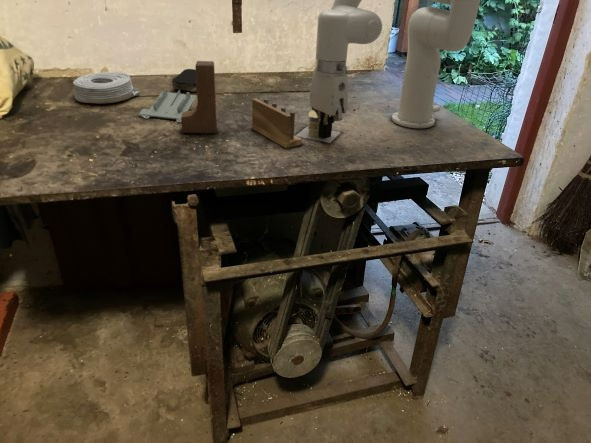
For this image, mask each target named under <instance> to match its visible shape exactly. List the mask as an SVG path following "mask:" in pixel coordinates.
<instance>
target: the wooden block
mask: <svg viewBox="0 0 591 443" xmlns="http://www.w3.org/2000/svg"><path fill="white" fill-rule="evenodd" d="M194 69H195V70H196V84H197V91H196V99H197V100H196V101H197V105H196V106H195V107H194V108H193V109H192V110H188V111H186V112H183V113H182V117H181V122H180V123H181V133H182V134H216V133H217V131H218V130H217V128H218V124H217V122H218V121H217V101H216V100H217V99H216V97H217V96H216V75H215V74H216V73H215V72H216V71H215V62H214V61H213V60H197V61H196V62H195V68H194Z"/></svg>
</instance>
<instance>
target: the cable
mask: <svg viewBox="0 0 591 443" xmlns="http://www.w3.org/2000/svg"><path fill="white" fill-rule="evenodd" d="M72 84H73V89H74V91H73V92H74V93H73V94H74V99H75V100H76V101H77V102H80V103H84V104H85V103H86V104H112V103H119V102H122V101H126V100H129V99H131V98H133V97H138V96H139V94H140V88H135V87H134V86H133V83H132V79H131V76H130V75H129V74H127V73H125V72H118V71H116V72H115V71H113V72H112V71H110V72H109V71H108V72H107V71H106V72H96V73H90V74H84V75H82V76H79V77H77V78H76V79H74V81H73V82H72Z"/></svg>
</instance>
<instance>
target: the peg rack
mask: <svg viewBox="0 0 591 443" xmlns="http://www.w3.org/2000/svg"><path fill="white" fill-rule="evenodd" d="M251 101H252V102H251V106H252V110H251V111H252V112H251V114H252V115H251V116H252V117H251V118H252V120H251V121H252V126H251V128H252V130H254V131H255V132H257V133H259V134H261V135H262V136H263V137H265V138H268V139H269V140H271V141H273V142H274V143H276V144H278V145H280V146H281V147H283V148H284V149H289V148H293V147H297V146H301V145H302V143H303V142H302V141H303V140H302V139H303V138H301V137H298V136H296V135H295V122H296V119H295V118H296V112H295V111H293V110H292V111H291V110H290V112H289V113H287V112H286V111H287V109H286V106H281V107H280V109H279V108H277V107H278V103H277V102H272V103H271V104H269V98H263V101H262V100H261V99H258V98H255V97H254V98H252V100H251Z"/></svg>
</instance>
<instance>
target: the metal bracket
mask: <svg viewBox="0 0 591 443" xmlns="http://www.w3.org/2000/svg"><path fill="white" fill-rule="evenodd" d="M196 99H197V94H191V91H186V93H181V90H179V89H178V91H177V92H168V90H167V89H163V91H161V93H160V94H159V96H157V98H156V99H155V101H154V102H153V104H152V105H151V107H150V108H142V109H141V111H140V112H139V114H138V116H139V117H141V118H143V119H145V120H147V119H149V118H150V117H151V118H159V119H168V120H176V123H181V117H182V113H183V112H186V111H190V108H191V106H192V105H193V103H194V102H195V100H196Z"/></svg>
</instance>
